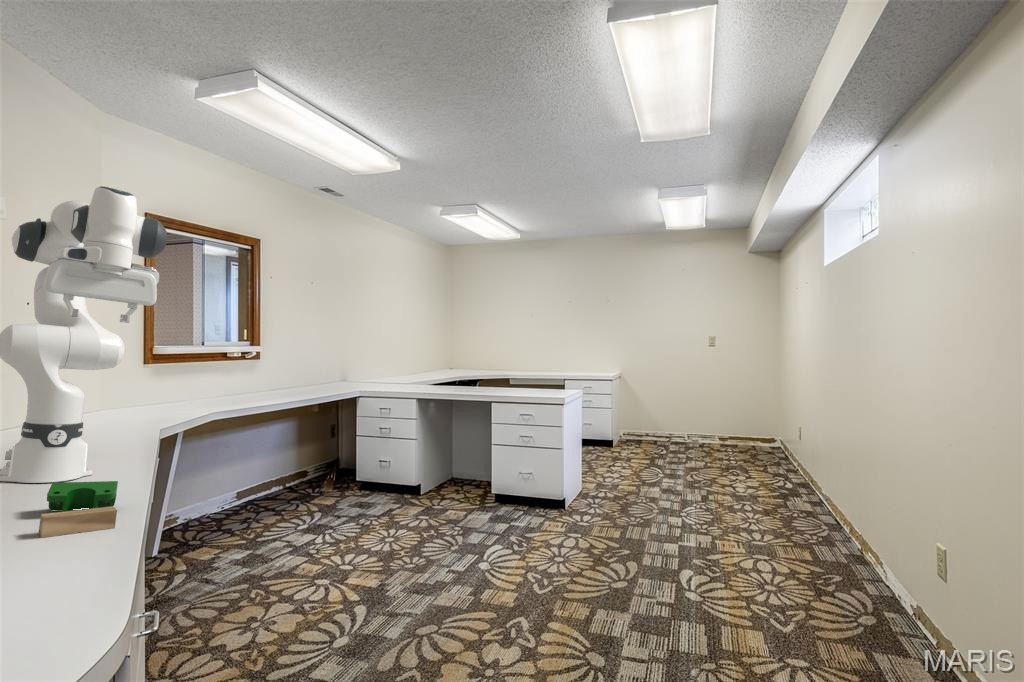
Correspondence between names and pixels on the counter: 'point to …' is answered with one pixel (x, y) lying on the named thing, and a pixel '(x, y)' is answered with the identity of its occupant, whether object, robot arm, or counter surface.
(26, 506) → the counter surface
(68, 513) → the stop rail
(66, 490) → the clamp
